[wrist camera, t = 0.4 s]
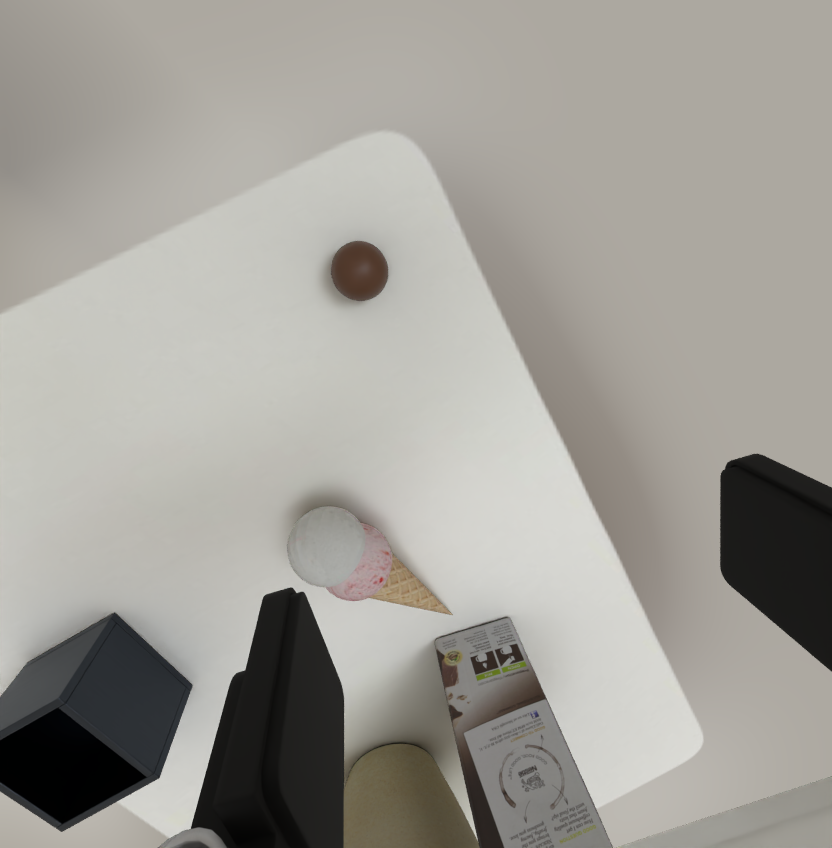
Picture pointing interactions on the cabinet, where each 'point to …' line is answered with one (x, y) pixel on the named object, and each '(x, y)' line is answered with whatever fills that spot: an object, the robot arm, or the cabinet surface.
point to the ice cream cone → (353, 561)
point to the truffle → (359, 270)
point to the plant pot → (402, 803)
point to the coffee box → (513, 746)
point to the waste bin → (88, 723)
